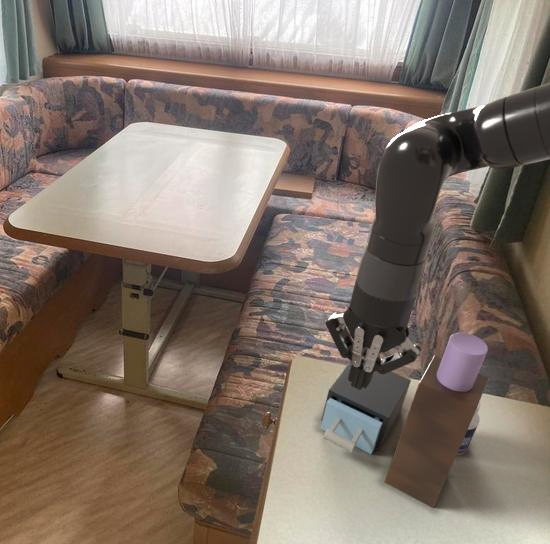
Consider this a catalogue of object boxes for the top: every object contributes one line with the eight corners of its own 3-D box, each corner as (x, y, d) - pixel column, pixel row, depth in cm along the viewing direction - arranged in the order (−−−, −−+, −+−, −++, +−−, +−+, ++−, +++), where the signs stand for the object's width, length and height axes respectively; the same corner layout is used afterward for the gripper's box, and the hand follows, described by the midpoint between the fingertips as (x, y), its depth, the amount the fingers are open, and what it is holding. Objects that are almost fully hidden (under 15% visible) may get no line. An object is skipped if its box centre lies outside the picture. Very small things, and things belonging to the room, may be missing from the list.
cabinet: (377, 453, 89) (389, 418, 85) (320, 424, 93) (328, 389, 89) (399, 413, 96) (411, 379, 92) (345, 388, 101) (354, 355, 97)
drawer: (359, 475, 84) (368, 447, 81) (307, 447, 88) (313, 420, 85) (391, 418, 94) (400, 391, 91) (343, 395, 98) (350, 369, 95)
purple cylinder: (476, 378, 74) (491, 341, 71) (468, 397, 71) (483, 359, 68) (441, 364, 76) (454, 328, 73) (432, 381, 73) (445, 345, 70)
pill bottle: (431, 454, 89) (449, 409, 84) (427, 429, 93) (444, 384, 88) (468, 462, 88) (489, 417, 83) (462, 436, 93) (482, 391, 87)
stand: (444, 478, 85) (489, 377, 75) (431, 511, 80) (476, 407, 70) (398, 455, 89) (434, 355, 78) (382, 486, 84) (419, 382, 73)
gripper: (326, 276, 73) (303, 379, 82) (432, 315, 66) (395, 422, 75) (348, 253, 78) (325, 352, 87) (449, 288, 72) (412, 391, 81)
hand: (358, 385), depth 81 cm, fingers closed
